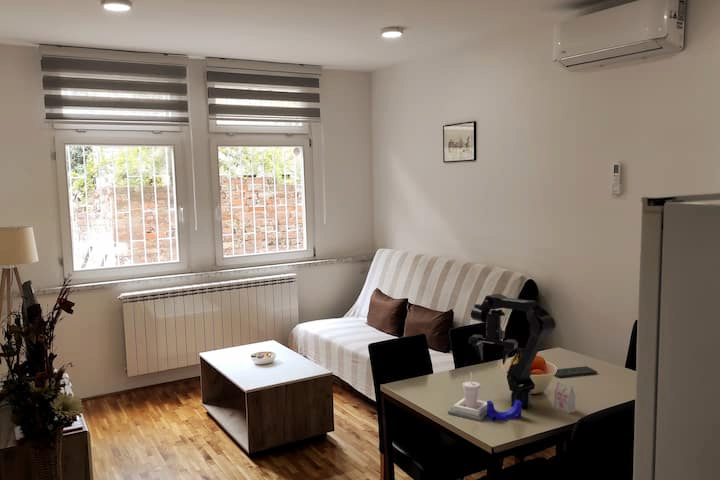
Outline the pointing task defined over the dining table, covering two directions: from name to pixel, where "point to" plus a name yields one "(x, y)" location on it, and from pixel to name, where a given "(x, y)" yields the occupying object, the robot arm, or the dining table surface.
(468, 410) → the socket plate
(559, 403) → the milk carton
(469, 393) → the smoothie
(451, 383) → the dining table surface
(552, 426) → the dining table surface
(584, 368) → the smart home device
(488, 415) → the cable clip
